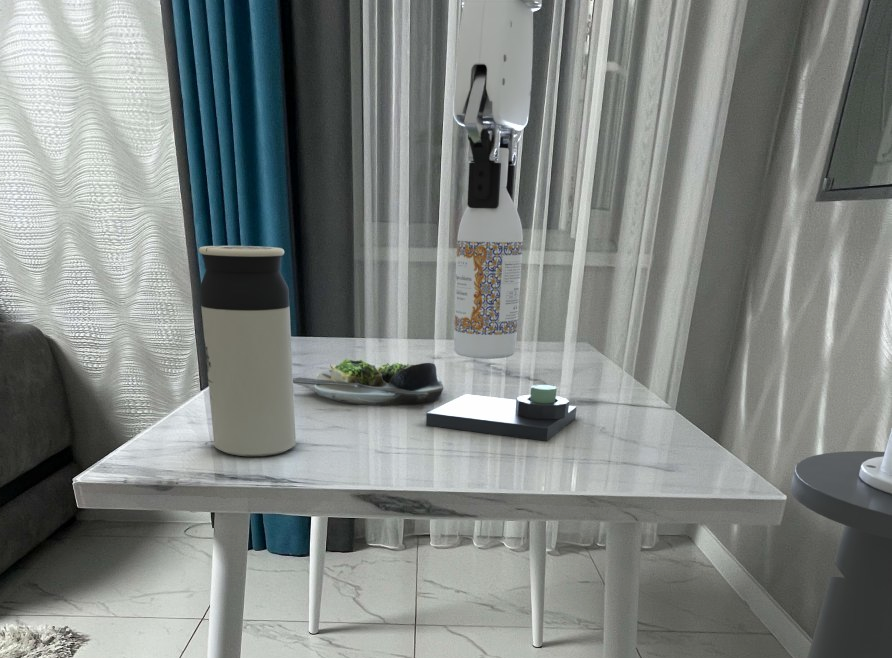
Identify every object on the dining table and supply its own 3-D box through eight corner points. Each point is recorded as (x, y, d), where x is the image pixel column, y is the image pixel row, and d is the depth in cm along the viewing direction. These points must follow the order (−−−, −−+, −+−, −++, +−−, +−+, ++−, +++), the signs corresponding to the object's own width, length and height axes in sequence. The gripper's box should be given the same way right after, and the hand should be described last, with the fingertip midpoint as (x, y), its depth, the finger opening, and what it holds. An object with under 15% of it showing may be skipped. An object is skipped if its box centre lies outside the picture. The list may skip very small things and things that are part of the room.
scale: (578, 419, 95) (581, 393, 94) (549, 441, 85) (552, 413, 84) (465, 405, 100) (466, 380, 99) (425, 425, 91) (426, 398, 89)
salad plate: (286, 408, 96) (284, 368, 94) (297, 379, 112) (295, 344, 110) (448, 410, 98) (449, 370, 96) (436, 381, 114) (437, 347, 112)
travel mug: (306, 439, 84) (298, 247, 75) (281, 460, 77) (269, 251, 68) (232, 434, 85) (216, 244, 76) (201, 454, 78) (180, 247, 69)
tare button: (558, 402, 91) (559, 386, 90) (551, 406, 89) (552, 390, 88) (534, 399, 92) (535, 383, 91) (526, 404, 90) (528, 387, 89)
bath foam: (442, 351, 92) (447, 148, 83) (493, 347, 95) (503, 151, 86) (474, 361, 87) (483, 145, 78) (527, 357, 90) (542, 148, 81)
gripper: (494, 9, 84) (483, 208, 92) (430, -32, 70) (424, 206, 79) (564, 4, 81) (547, 210, 89) (512, -39, 68) (497, 208, 76)
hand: (490, 206), depth 84 cm, fingers closed on bath foam, 3 cm apart
